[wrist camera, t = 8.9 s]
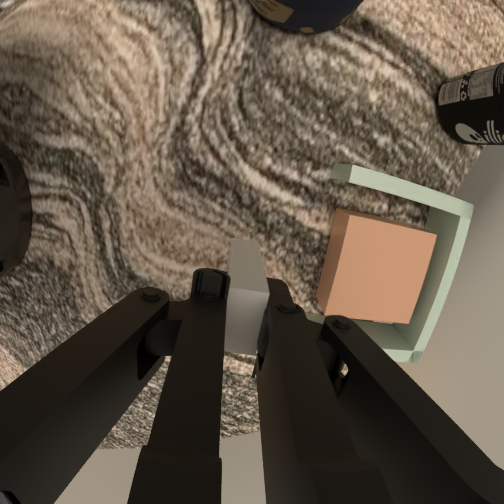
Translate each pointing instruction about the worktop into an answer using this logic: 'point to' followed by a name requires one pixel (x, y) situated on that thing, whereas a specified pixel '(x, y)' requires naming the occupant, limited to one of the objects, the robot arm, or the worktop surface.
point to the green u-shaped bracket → (440, 266)
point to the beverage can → (474, 106)
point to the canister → (306, 13)
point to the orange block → (373, 267)
